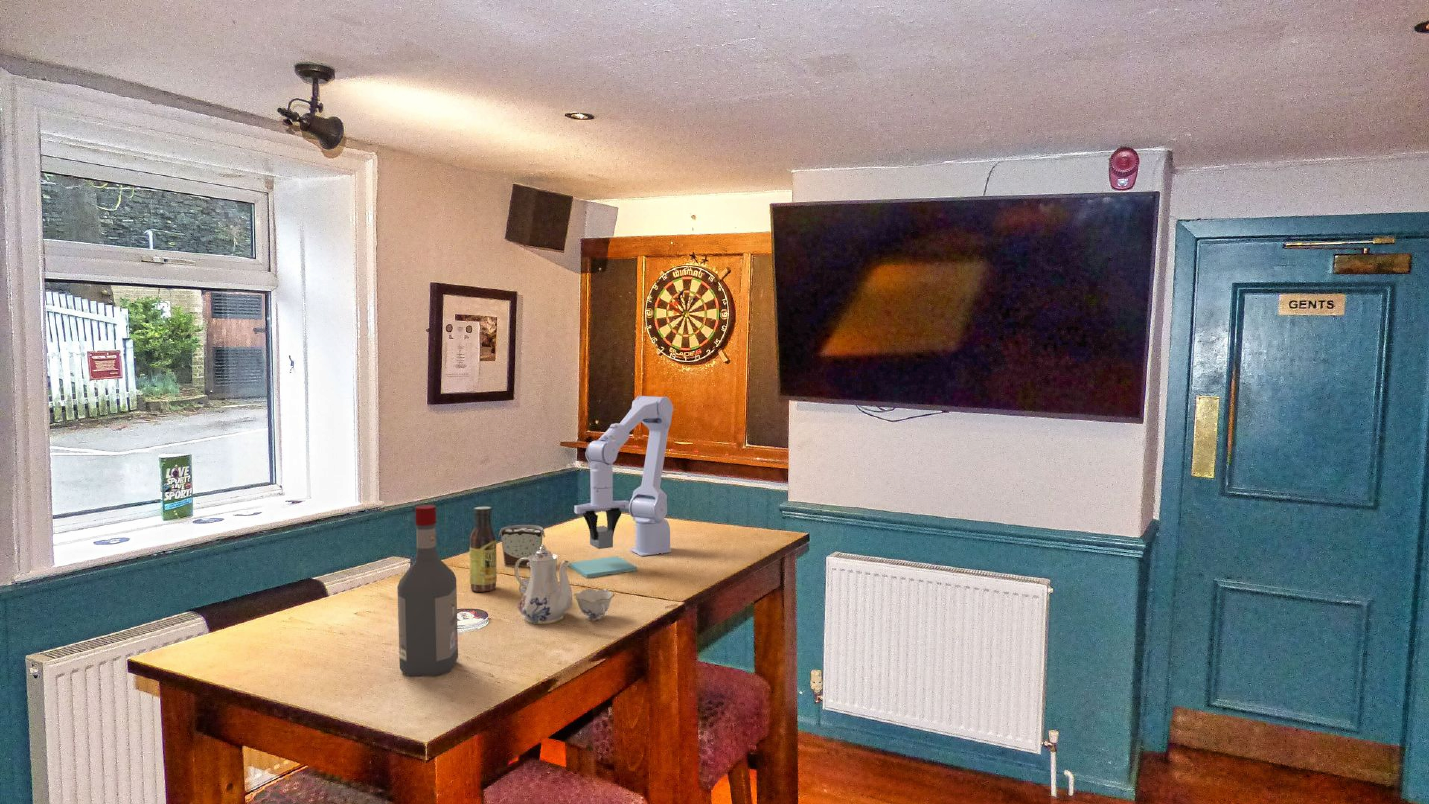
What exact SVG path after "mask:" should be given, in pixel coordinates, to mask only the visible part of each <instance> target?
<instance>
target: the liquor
mask: <svg viewBox="0 0 1429 804" xmlns="http://www.w3.org/2000/svg"><path fill="white" fill-rule="evenodd" d="M436 508H437V507H436V505H434V504H422V505H421V504H420V505H417V506H415V509H414V511H415V512H414V515H415V516H414V517H415V521H414V522H415V524H414V525H416V554H415V559H414V562H413V563H412V564H411V565H410V567H408V569H407V570H406V572H405V573H404V574H403V576H401V578H400V579H399V581H398V584H397V613H398V614H397V617H398V620H397V621H398V624H397V625H398V654H399V655H398V656H399V657H398V659H399V670H400V671H401V673H402V674H404V675H405V676H408V677H410V678H411V677H437V676H442V675H444V674H448V673H449V672H450V671H451V670H452V669H453V667H454V665H455V664H456V663H457V661H458V659H459V644H458V643H459V642H458V641H459V640H458V639H459V637H458V634H459V633H458V595H457V592H458V591H457V577H456V574H455V572H454V571H453V570H452V569H451V568H450V567H449V566H448V565H447V564H446V563H445V562H444V561H442V560H441V559H440V558H439V553H438V551H437V535H436V533H437V532H436V531H437V529H436V528H437V527H436V524H437V509H436Z"/></svg>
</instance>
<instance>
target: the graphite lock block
mask: <svg viewBox="0 0 1429 804" xmlns="http://www.w3.org/2000/svg"><path fill="white" fill-rule="evenodd" d="M589 544H590V545H591V546H592V547H594V548H596V549H597V550H601V549H610V548H611V549H612V548H614V535H613V530H611V529H609V528H607V526H606V525H600V526H598V525H597V539H596V540H593V539H591V534H590V533H589Z"/></svg>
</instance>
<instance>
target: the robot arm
mask: <svg viewBox="0 0 1429 804" xmlns="http://www.w3.org/2000/svg"><path fill="white" fill-rule="evenodd" d="M631 402H632V404H631V408H630V409H629V411H628V413H626V415H625V416H624V417H623V419H622V420H621V421H620V423H617V422H616V423H611V424H610V426H609V427H608V428H607V430H606V431H605V432H604V433H603V434H602V435H601V436H600V438H598V439H597V440H593V441H591V442H590V443H588V444H587V446H586V449H585V452H584V454H585V455H584V456H585V458H586V460H587V463H588V465H587V467H588V468H589V470H590V472H589V473H590V502H588V503H582V504H577V505H576V504H575V505H574V506H573V507H574V508H573V511H574V513H575V514H576V515H581V514H582V516H583V519H585V522H586V524H587V526H588V530H589V535H590V534H591V539H593V540H596V539H597V527H598V518H599V515H598V514H597V513H596V512H603V511H605V514H606V515H605V516H606V520H607V521H606V523H607V524H606V527H607V528H609V529H611V530H613V536H614V533H615V529H616V526H617V524H618V522H619V520H620V518H621V516H622V510H624V509H625V510H628V512H629V513H628V514H630V517H632V521H634V523H635V529H634V532H635V533H634V534H635V536H634V537H635V540H634V541H635V542H634V543H635V546H634V547H632V548H630V549H629V551H631V552H633V553H635V554H636V553H637V555H639V556H641V557H643V556H645V557H646V556H651V555H660V554H659V553H661V554H666V553H671V552H672V550H671V527H670V523H669V521H668V520H667V519H665V518H666V516H667V513H668V504H667V502H668V501H667V500H668V495H667V493H665V491H663V489H662V488H661V481H662V475H663V468H664V462H665V456H666V450H667V445H668V444H667V442H668V435H669V429H670V427H671V425H672V418H673V411H674V405H673V403H672V401H671V399H670V398H669V397H667V396H650V395H649V396H648V395H647V396H645V395H638V396H636V398H635V399H634V400H632V401H631ZM640 423H642V424H643V425H644V426H645V427H647V429H648V430H649V434H648V439H647V447H646V451H645V452H646V453H645V457H644V458H645V460H644V465H643V472H642V479H641V485H640V486H638V487H637V488H635V489H634V490H633V491H632V497H631V499H630V500H614V498H613V494H614V492H613V491H614V489H613V488H614V487H613V486H614V485H613V484H614V483H613V481H614V480H613V479H614V477H613V475H614V474H613V463H614V462H616V460H617V458H618V453H619V452H620V449H621V448H622V447H623V446H624V445H625V444H626V442H627V441H629V438H630V432H631V431H632V430H633V429H634V428H636V427H637V426H638V425H639V424H640Z"/></svg>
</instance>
